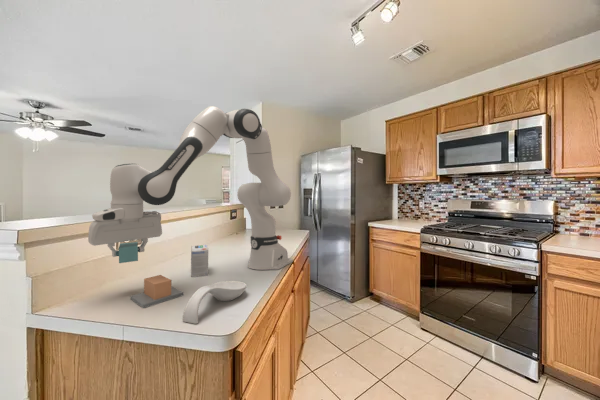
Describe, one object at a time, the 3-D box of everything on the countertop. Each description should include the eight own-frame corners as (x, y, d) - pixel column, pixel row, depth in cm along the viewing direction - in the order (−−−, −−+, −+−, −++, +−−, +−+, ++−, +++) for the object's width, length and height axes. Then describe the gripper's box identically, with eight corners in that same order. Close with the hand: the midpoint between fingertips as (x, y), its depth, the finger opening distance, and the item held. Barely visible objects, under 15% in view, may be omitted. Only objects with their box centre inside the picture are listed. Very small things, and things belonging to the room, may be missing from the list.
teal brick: (137, 255, 87) (137, 241, 87) (138, 260, 80) (137, 246, 80) (120, 257, 84) (120, 243, 84) (119, 263, 78) (118, 248, 77)
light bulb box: (191, 269, 108) (191, 245, 108) (207, 268, 111) (207, 244, 111) (190, 277, 99) (190, 250, 98) (208, 275, 101) (208, 249, 101)
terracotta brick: (160, 288, 84) (160, 274, 84) (171, 294, 79) (171, 280, 79) (144, 293, 80) (144, 278, 80) (154, 299, 75) (154, 284, 75)
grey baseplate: (169, 287, 88) (169, 285, 88) (183, 295, 82) (183, 292, 82) (130, 299, 78) (130, 296, 78) (143, 308, 72) (143, 304, 72)
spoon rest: (223, 288, 88) (223, 268, 88) (252, 292, 85) (252, 271, 85) (171, 321, 66) (171, 294, 65) (209, 328, 62) (209, 300, 62)
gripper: (157, 210, 92) (158, 246, 92) (85, 214, 76) (87, 258, 76) (164, 211, 88) (165, 249, 88) (91, 215, 72) (92, 262, 72)
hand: (128, 253), depth 82 cm, fingers closed on teal brick, 6 cm apart
